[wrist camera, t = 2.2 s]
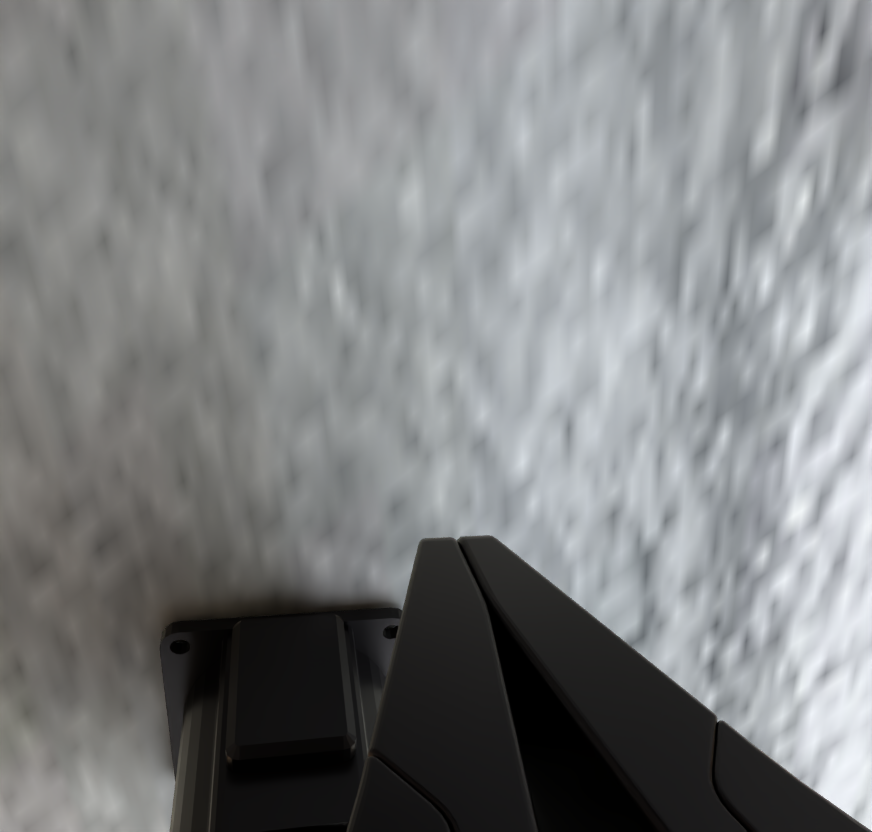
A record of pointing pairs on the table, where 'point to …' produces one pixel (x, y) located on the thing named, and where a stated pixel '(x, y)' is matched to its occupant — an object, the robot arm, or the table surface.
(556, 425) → the table surface
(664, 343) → the table surface
